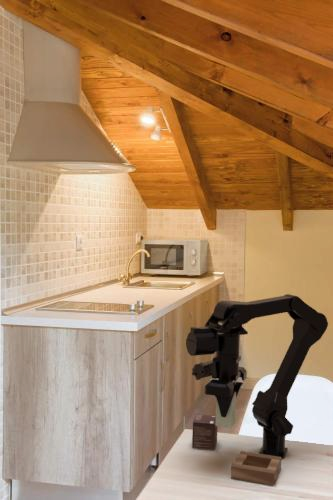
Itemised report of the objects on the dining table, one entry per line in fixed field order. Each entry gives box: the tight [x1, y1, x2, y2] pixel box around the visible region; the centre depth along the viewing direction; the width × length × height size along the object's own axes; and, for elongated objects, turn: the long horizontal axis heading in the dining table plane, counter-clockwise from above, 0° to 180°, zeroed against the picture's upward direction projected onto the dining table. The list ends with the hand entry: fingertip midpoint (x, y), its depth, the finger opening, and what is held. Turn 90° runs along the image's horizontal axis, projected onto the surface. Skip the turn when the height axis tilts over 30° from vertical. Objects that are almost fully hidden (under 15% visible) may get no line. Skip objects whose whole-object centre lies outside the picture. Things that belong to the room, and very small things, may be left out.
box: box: [191, 413, 218, 451], centre depth 166 cm, size 6×6×7 cm
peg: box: [215, 393, 237, 429], centre depth 155 cm, size 4×4×8 cm
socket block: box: [230, 450, 282, 487], centre depth 148 cm, size 10×10×3 cm
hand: (225, 414), depth 155 cm, fingers closed on peg, 4 cm apart
